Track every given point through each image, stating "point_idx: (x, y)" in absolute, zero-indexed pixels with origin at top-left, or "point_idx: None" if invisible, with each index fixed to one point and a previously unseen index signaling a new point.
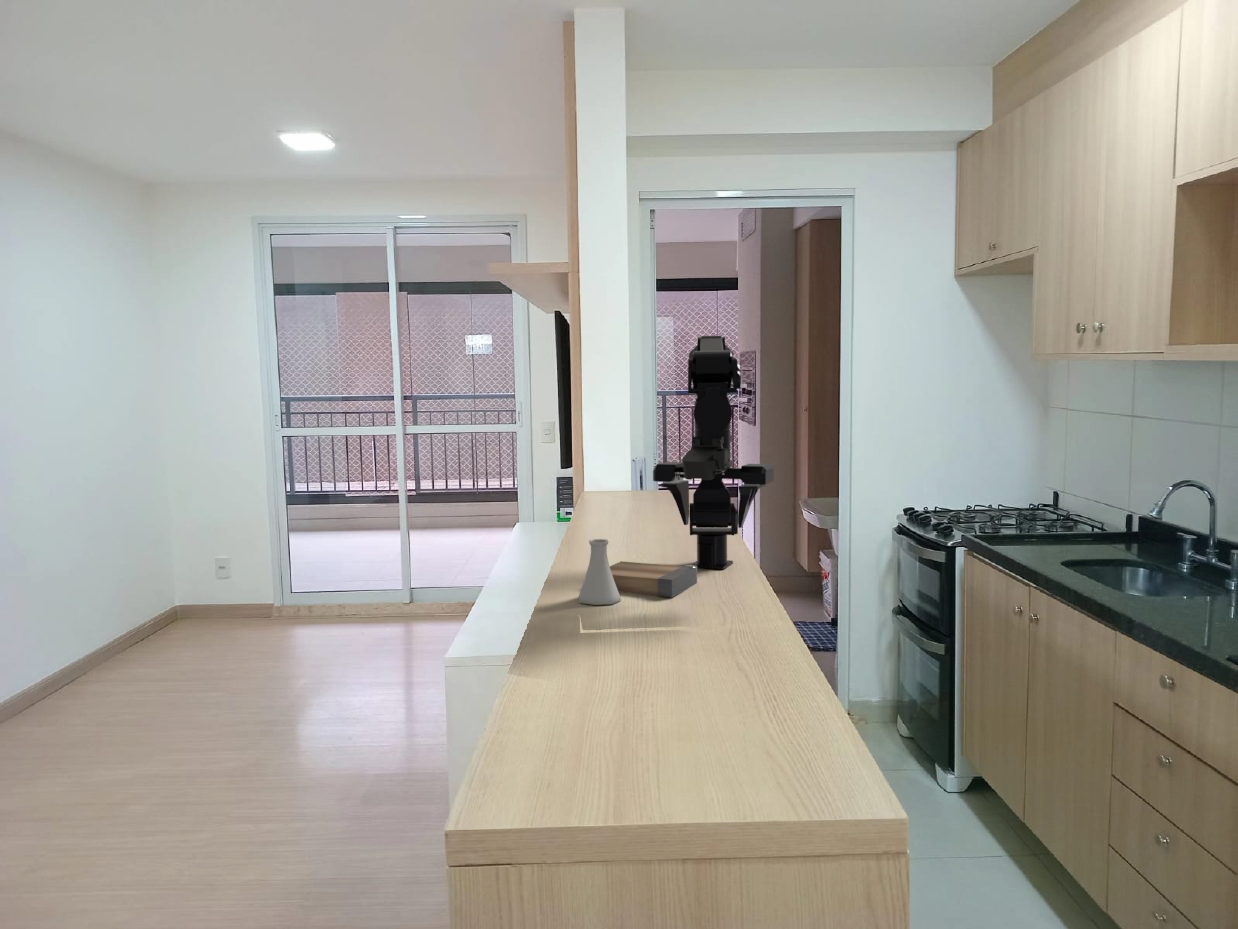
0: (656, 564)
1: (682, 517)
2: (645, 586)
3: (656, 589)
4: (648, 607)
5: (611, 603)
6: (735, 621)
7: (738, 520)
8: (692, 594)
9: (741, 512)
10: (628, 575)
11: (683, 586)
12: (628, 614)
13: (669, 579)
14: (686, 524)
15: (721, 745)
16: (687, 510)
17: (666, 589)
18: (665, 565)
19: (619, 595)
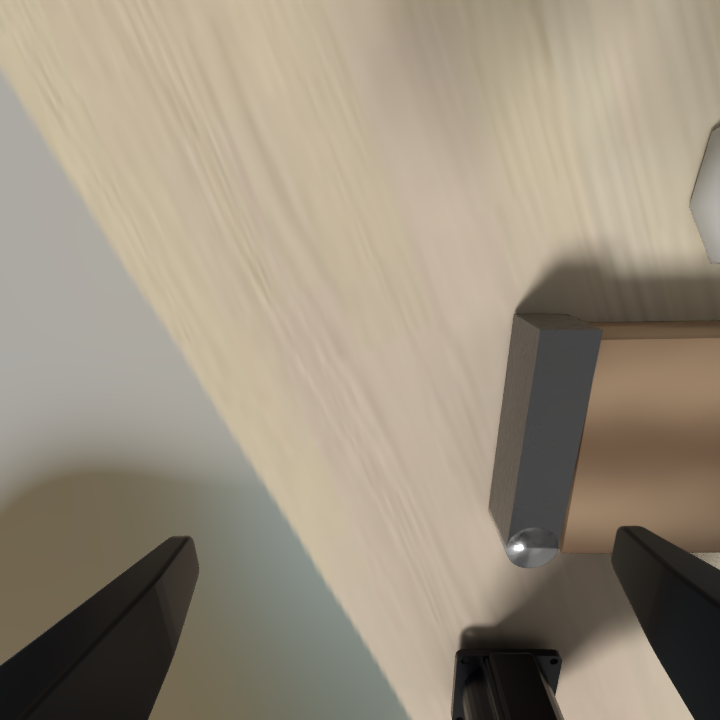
0: None
1: (696, 561)
2: (636, 329)
3: None
4: (562, 166)
5: (717, 129)
6: (202, 104)
7: (156, 571)
8: (465, 397)
9: (67, 634)
10: None
11: (506, 415)
12: (611, 21)
13: (551, 330)
14: (618, 532)
15: None
16: (700, 676)
17: (546, 320)
18: None
19: (710, 204)
